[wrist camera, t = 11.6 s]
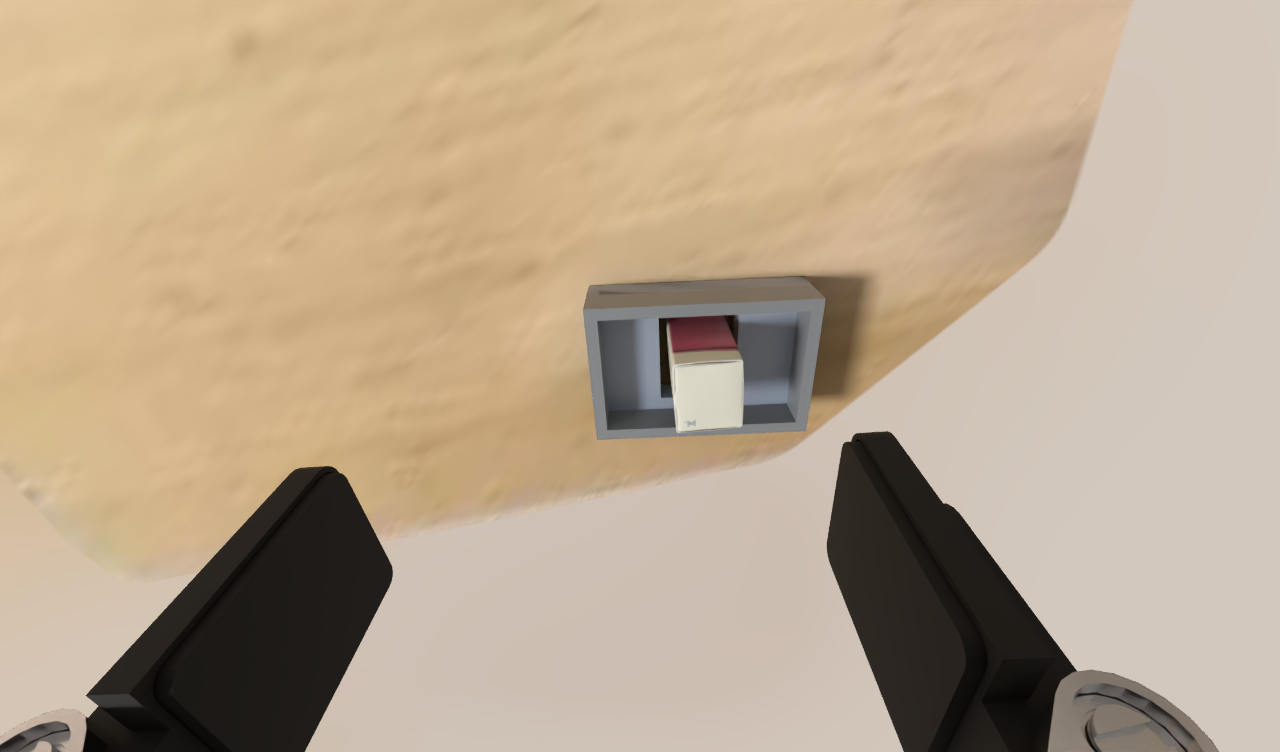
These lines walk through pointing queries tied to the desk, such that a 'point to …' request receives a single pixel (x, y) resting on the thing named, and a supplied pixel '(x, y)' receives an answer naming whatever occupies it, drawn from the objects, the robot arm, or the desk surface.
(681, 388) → the small box
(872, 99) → the desk surface
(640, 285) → the walled box
